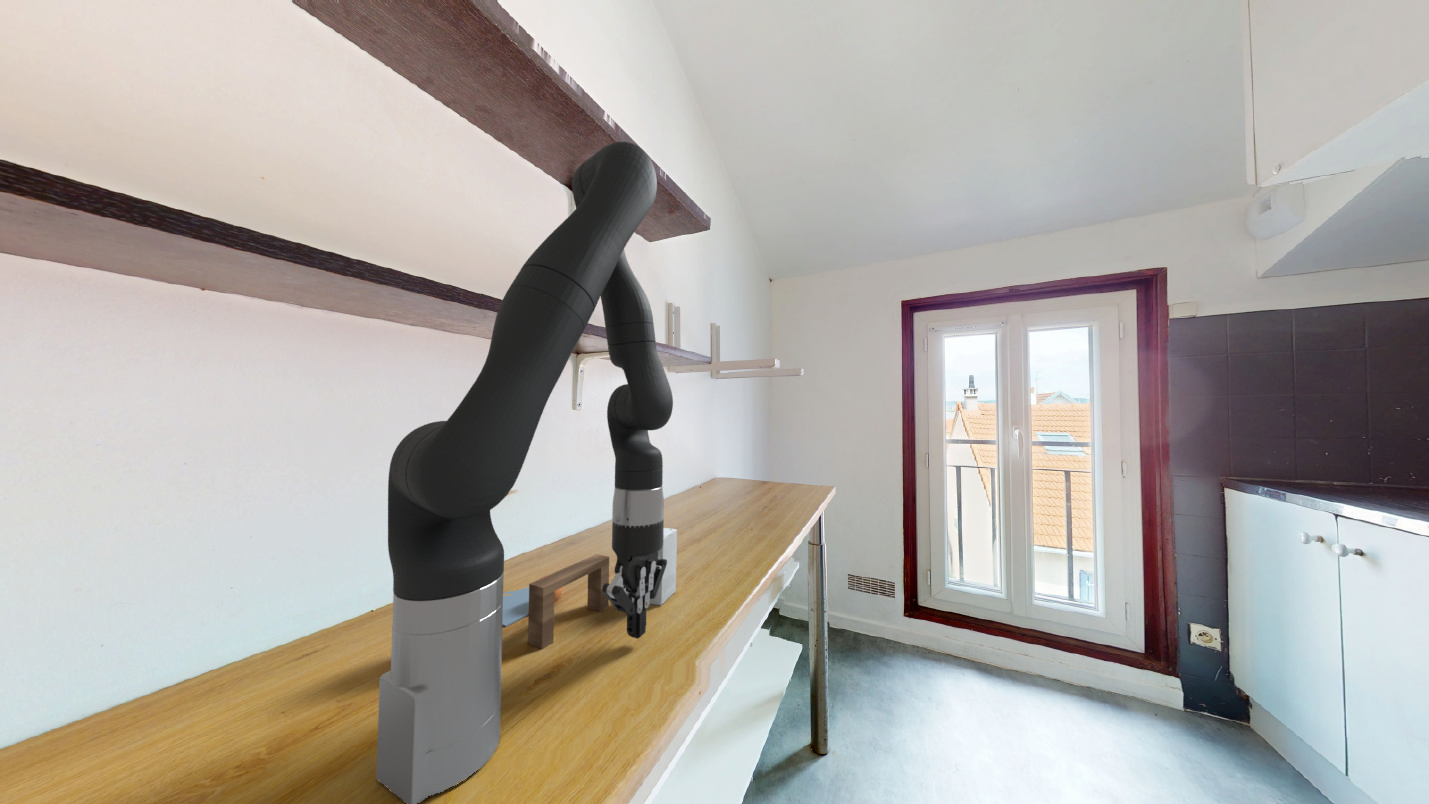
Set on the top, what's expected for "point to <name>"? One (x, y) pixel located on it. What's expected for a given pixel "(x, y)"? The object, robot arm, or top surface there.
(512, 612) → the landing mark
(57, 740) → the top surface
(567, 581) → the bridge
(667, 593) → the skincare box
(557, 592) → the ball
